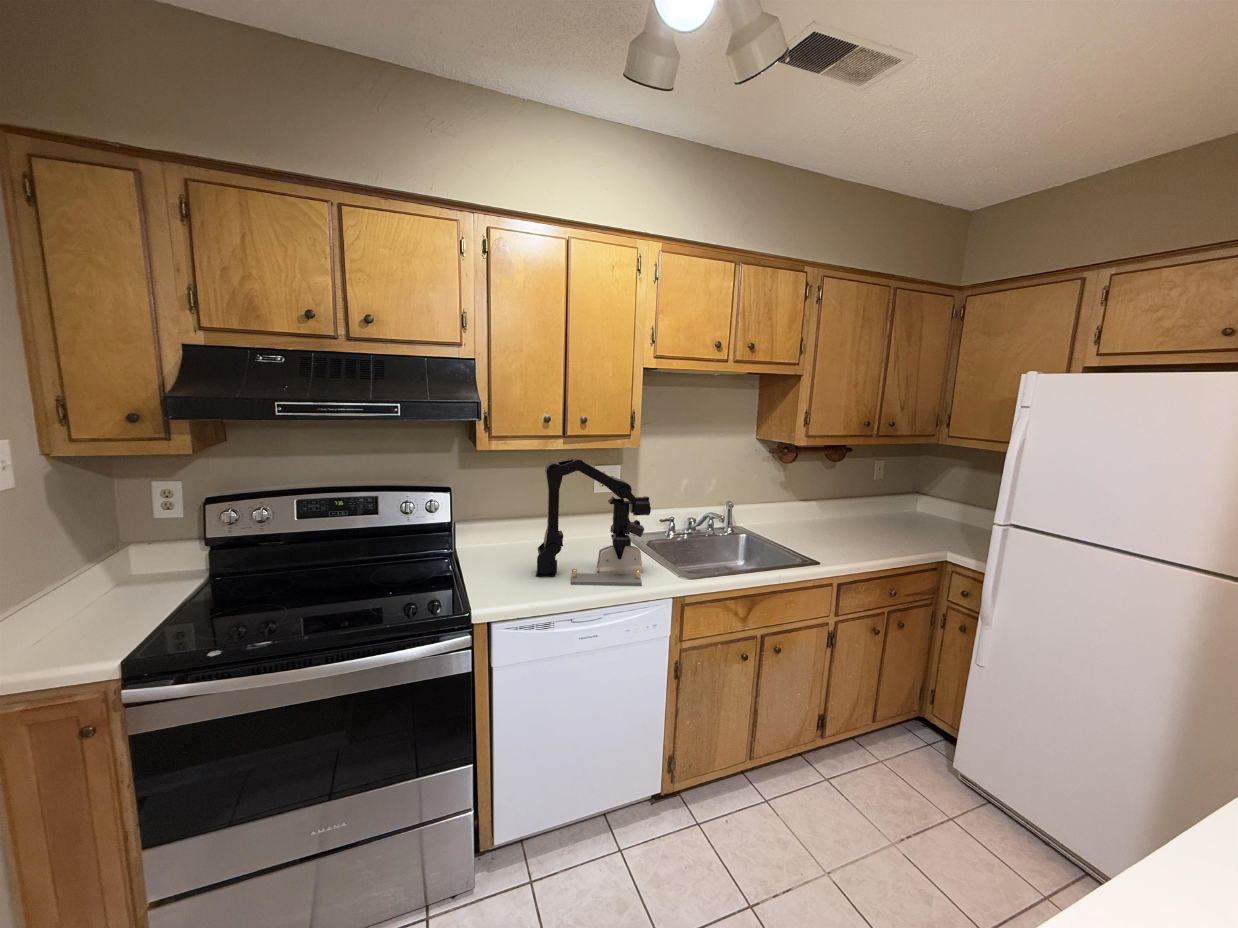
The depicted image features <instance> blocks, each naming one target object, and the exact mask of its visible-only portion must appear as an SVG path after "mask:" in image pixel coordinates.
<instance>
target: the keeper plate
mask: <svg viewBox="0 0 1238 928" xmlns="http://www.w3.org/2000/svg"><path fill="white" fill-rule="evenodd" d="M577 570H578V569H577V568H572V569H571V575H570V576H571V577H570V585H571V586H607V587H609V586H611V587H612V586H614V587H617V586H618V587H619V586H622V587H643V583H642V578H641V573H640V570H636V574H599V573H597V572H596V573H595V572H594V573H590V572H589V573H587V572H584V573H583V572H580V573H579V572H578V571H577Z"/></svg>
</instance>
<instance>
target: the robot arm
mask: <svg viewBox="0 0 1238 928" xmlns="http://www.w3.org/2000/svg"><path fill="white" fill-rule="evenodd" d="M544 472H545V473H544V474H545V478H546V479H545V480H546V483H547V521H546V522H547V526H546V530H545V533H544V539H543V542H542V543H541V544H540V545H539V546H538V547H537V552H538V555H537V557H536V574H535V576H536V577H540V578H541V577H547V578H548V577H549V578H551V577H555V576H556V574H557V573H558V559H556V557H557V555H558V554H559V553H560V552H561V550H562V547H564V543H563V540H564V533H563V530H559V517H560V516H559V515H560V514H559V512H560V511H559V509H560V505H559V504H560V489H561V485H562V481H563V478H564V476H567V475H570V474H572V473H574V472H580V473H582V474H584V475H585V476H587V477H589V478H591V479H592V480H594V481H596V482H598V483H600V484H602V485H603V486H605V487H606V488H607V489H608V490H610V491H611V492H612V493H613V494H614V495H616V496H617V498H615V497H614V496H612V497H610V498H609V499H608V500H607V502H608V504H609V505H613V511H612V524H611V525H610V533H611V534H610V537H611V540H612V542H611V543H612V545H613V546H614V549H615V551H616V554H617V557H618V559H619V560H621V559H622V555H623V552H624V548H625V546H632V545H631V544H632V539H631V536H630V534H632V535H635V536H637V537H639V538H642V536H643V534H644V532H645V527H644V526H643V525H642V524H641V521H640V520H639V519H638V520H637V519H635V520H634V521H631V520H630V513H631V514H632V515H633V516H636V517H637V516H650V515H651V510H652V507H651V502H650V497H649V496H645V495H644V496H635V495H634V494H633V493H632V491H633V490H632V487H631V485H630V484H629V483H628V482H626V481H625V480H623V479H620V478H618V477H616V476H611V475H608V474H606V473H605V472H603V471H601V470H600V469H597V468H596V467H594V466H593V465H591V464H589V463H587V462H585V461H583V460H582V458H579V457H575V458H571V459H568V460H567V459H566V460H561V461H558V462H557V461H553V460H552V461H549V462H548V463H546V465H545V467H544ZM625 499H626V500H625Z"/></svg>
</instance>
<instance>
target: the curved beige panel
mask: <svg viewBox="0 0 1238 928" xmlns="http://www.w3.org/2000/svg"><path fill="white" fill-rule="evenodd" d="M596 570H597V571H598V574H636V570H640V574H643V573H644V572H643V570H644V569H643V560H642V552H641V550H640V548H639V547H637V546H633V545H631V546H625V548H624V552H623V555H622V559H621V560H619V559H618V557H617V554H616V551H615V549H614V546H613V544H612V545H609V546H605V547H602V548H600V549H599V552H598V557H597V562H596Z"/></svg>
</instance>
